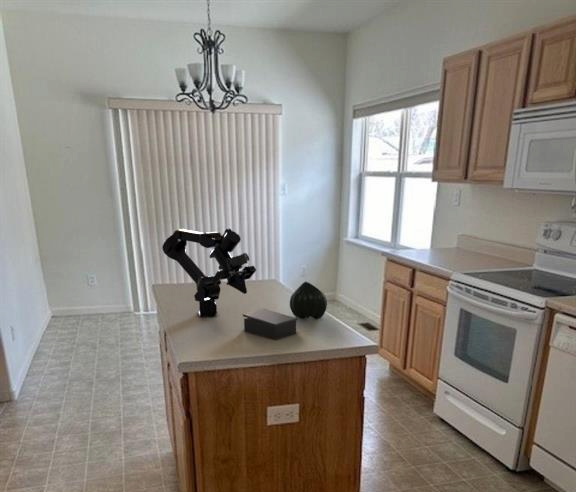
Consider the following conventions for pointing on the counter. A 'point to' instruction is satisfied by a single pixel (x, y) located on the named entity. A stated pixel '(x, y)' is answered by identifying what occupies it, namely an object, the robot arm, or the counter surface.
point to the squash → (308, 302)
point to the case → (269, 328)
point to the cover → (269, 317)
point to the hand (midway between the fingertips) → (245, 293)
